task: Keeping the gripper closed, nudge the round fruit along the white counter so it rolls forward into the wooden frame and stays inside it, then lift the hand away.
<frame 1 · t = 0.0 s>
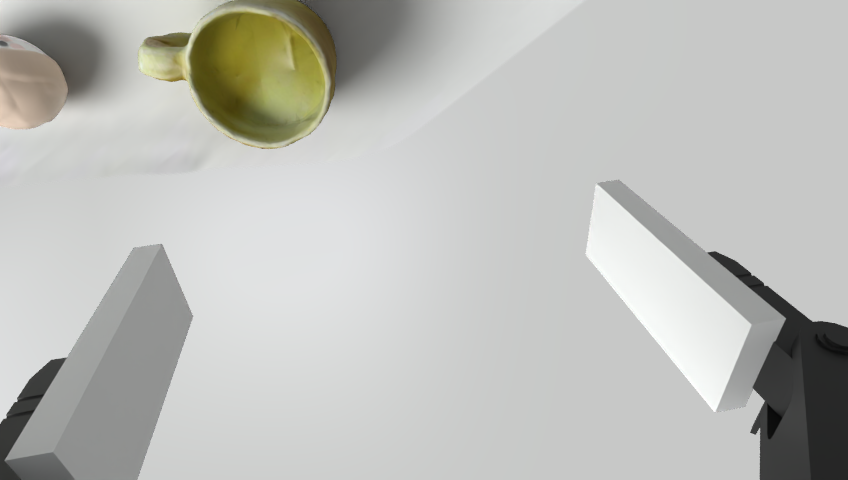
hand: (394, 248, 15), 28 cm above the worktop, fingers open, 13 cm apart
garlic bulb: (29, 72, 35), on the worktop
mug: (253, 50, 37), on the worktop
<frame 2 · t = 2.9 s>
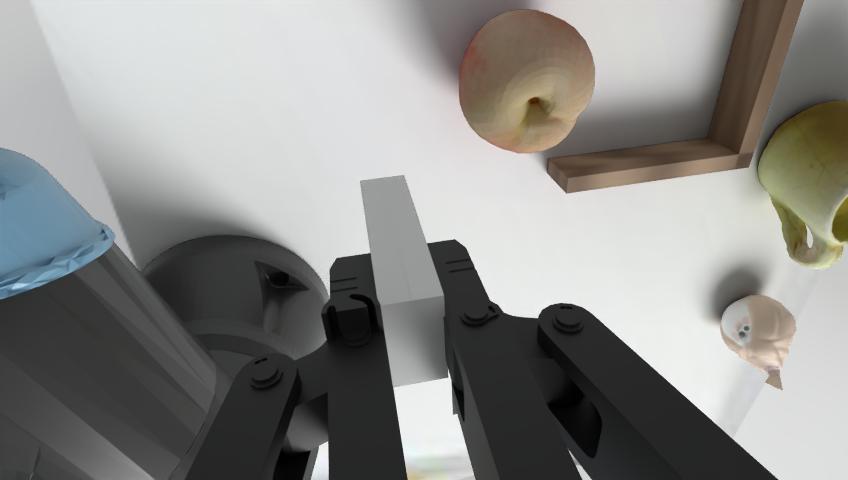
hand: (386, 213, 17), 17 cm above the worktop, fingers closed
garlic bulb: (734, 308, 50), on the worktop
wooden frame: (654, 52, 34), on the worktop
fruit: (501, 68, 33), on the worktop
mug: (788, 167, 42), on the worktop
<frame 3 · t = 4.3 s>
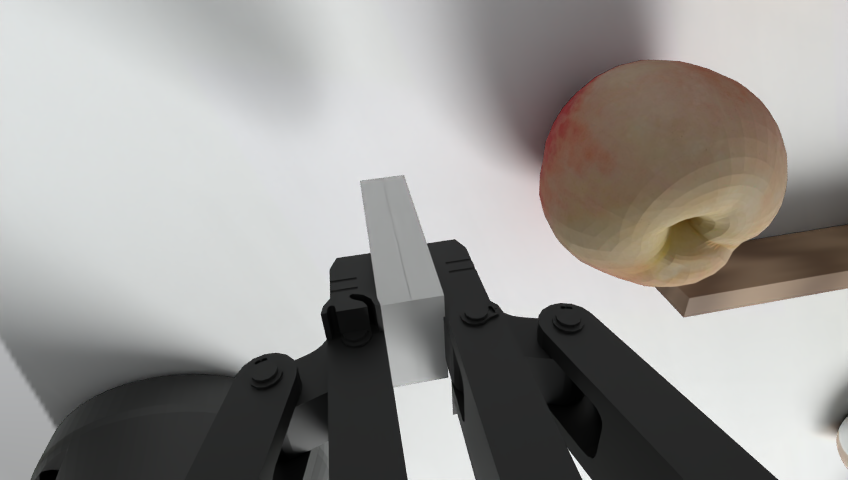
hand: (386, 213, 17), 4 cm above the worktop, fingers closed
wooden frame: (819, 111, 23), on the worktop
fruit: (595, 137, 21), on the worktop
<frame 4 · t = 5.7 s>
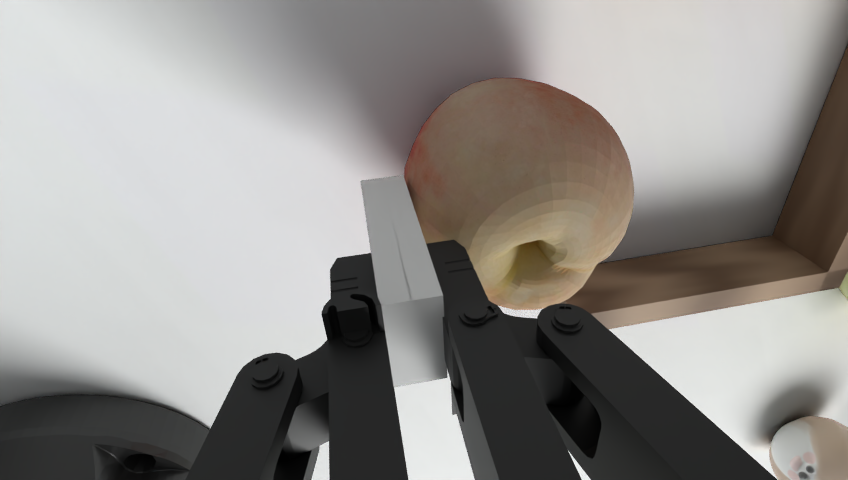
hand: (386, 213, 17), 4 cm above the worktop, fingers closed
garlic bulb: (786, 427, 39), on the worktop
wooden frame: (706, 126, 22), on the worktop
fruit: (478, 153, 21), on the worktop, touching gripper
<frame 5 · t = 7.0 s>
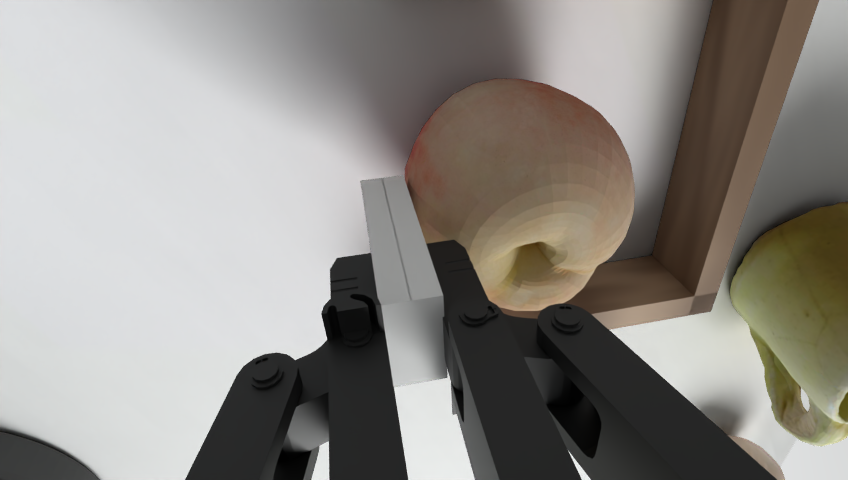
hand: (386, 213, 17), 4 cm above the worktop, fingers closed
garlic bulb: (706, 445, 38), on the worktop
wooden frame: (557, 145, 21), on the worktop
fruit: (479, 154, 21), on the worktop, touching gripper
mug: (774, 285, 29), on the worktop
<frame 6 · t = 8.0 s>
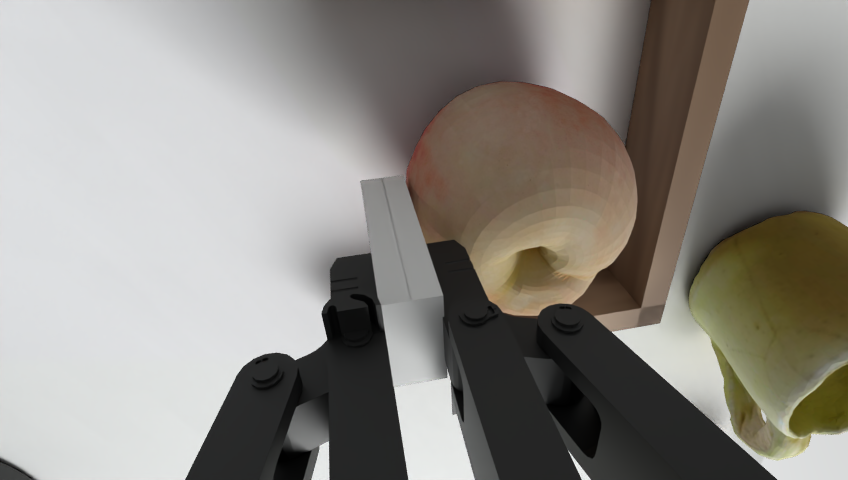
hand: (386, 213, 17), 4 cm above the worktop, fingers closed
wooden frame: (496, 153, 21), on the worktop
fruit: (481, 156, 21), on the worktop, touching gripper
mug: (735, 294, 29), on the worktop
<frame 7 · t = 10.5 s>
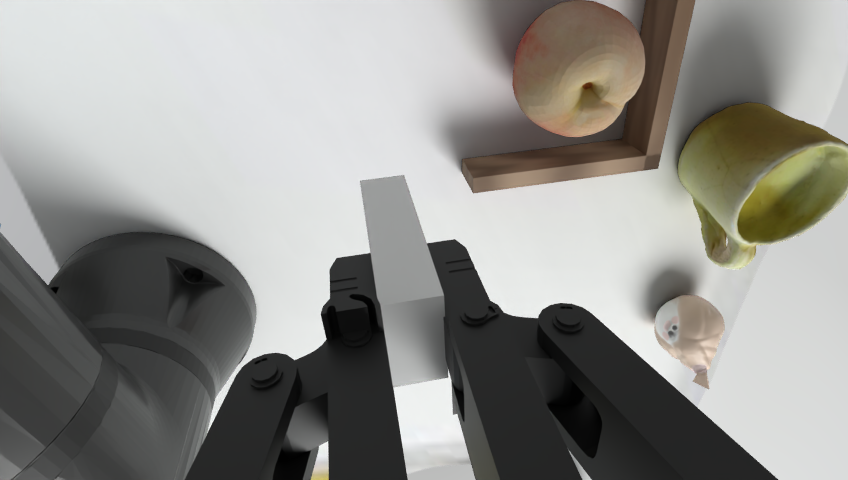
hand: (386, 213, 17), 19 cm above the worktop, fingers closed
garlic bulb: (670, 308, 51), on the worktop
wooden frame: (558, 55, 34), on the worktop
fruit: (549, 57, 34), on the worktop
mug: (710, 169, 42), on the worktop
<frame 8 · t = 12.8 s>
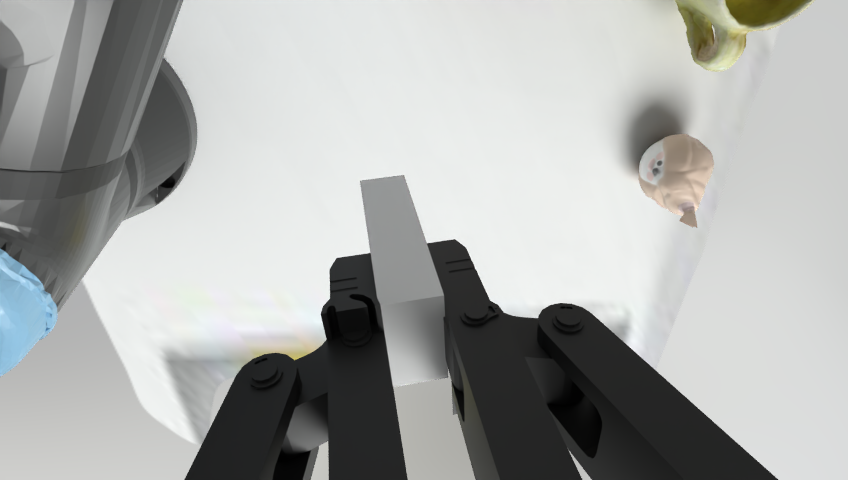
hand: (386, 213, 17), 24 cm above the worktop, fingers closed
garlic bulb: (656, 158, 47), on the worktop
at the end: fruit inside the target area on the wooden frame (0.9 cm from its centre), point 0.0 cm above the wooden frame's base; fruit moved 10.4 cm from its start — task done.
